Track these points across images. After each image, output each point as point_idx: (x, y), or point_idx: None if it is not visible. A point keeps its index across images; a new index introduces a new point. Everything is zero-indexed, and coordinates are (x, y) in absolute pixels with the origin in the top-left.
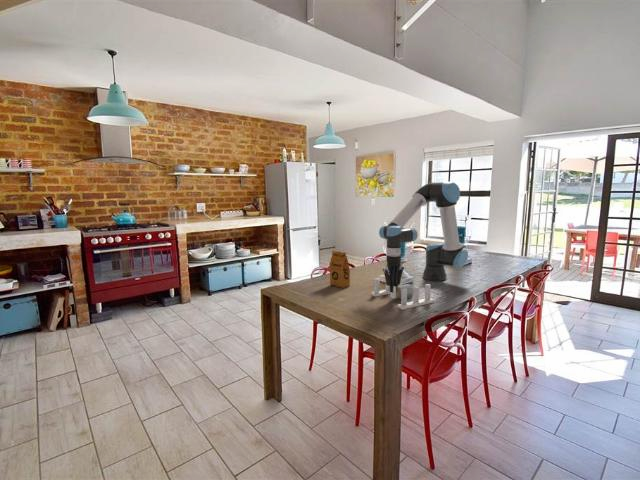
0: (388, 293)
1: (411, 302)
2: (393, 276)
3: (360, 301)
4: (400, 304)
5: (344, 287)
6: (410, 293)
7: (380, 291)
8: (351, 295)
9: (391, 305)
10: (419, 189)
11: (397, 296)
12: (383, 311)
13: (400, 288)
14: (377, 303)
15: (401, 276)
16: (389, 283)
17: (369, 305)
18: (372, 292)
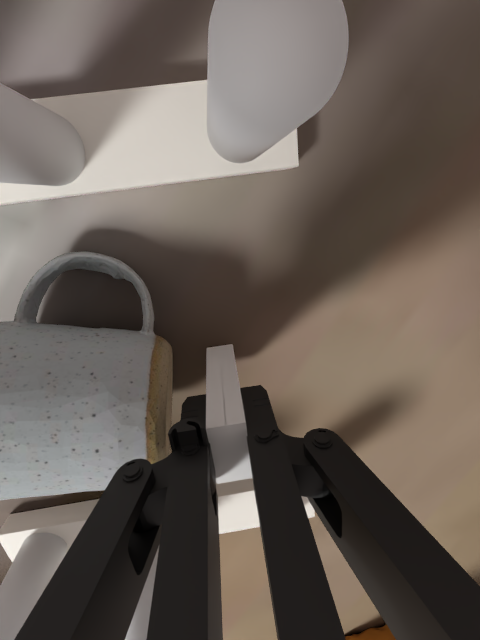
0: None
1: (113, 158)
2: (289, 625)
3: (462, 409)
4: (271, 152)
5: (382, 628)
6: (24, 330)
7: (239, 516)
8: (431, 518)
9: (311, 242)
10: None
11: (170, 374)
12: (477, 125)
13: (132, 407)
14: (385, 331)
15: (21, 629)
16: (347, 462)
17: (468, 313)
18: (310, 512)
